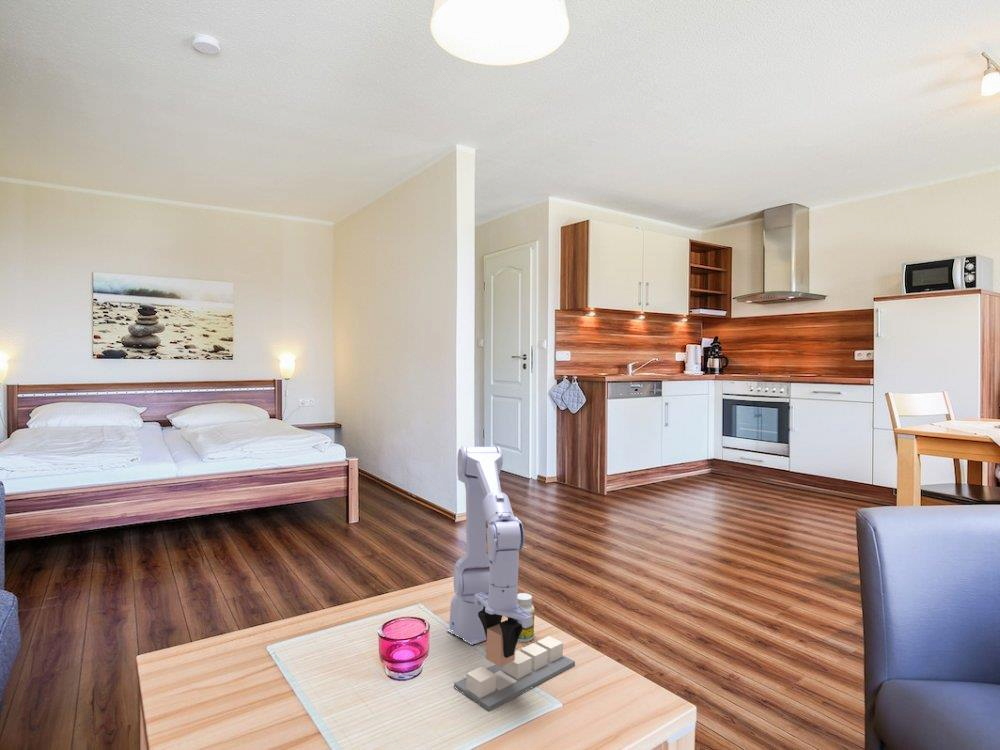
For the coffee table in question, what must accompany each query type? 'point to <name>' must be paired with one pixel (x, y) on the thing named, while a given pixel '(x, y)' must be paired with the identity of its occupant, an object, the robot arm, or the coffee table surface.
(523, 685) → the block set board
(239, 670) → the coffee table surface
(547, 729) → the coffee table surface
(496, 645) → the terracotta block
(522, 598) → the supplement bottle
